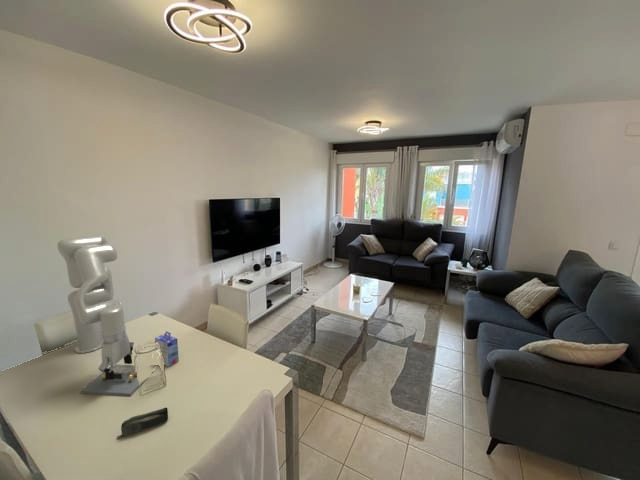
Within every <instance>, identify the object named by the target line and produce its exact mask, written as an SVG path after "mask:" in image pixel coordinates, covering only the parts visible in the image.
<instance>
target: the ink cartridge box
mask: <svg viewBox="0 0 640 480" xmlns="http://www.w3.org/2000/svg"><path fill="white" fill-rule="evenodd" d="M171 334H172V333H171V332H169V331H167V330H166V331H165V333H163V334H160V335H159V336H156V337H155V338H154V344H155V343H156V342H158V343H159V344H160V349H161V352H162V356H163V359H164V363H165V366H166V367H168V368H169V367H171V366H172V365H174V364H177V363H178V362H179V361H180V360H179V359H180V358H179V346H178V345H179V344H178V338H177V337H174V336H172V335H171Z"/></svg>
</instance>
